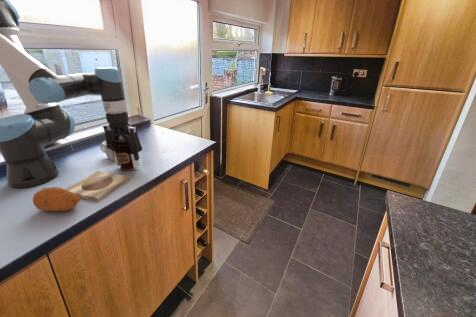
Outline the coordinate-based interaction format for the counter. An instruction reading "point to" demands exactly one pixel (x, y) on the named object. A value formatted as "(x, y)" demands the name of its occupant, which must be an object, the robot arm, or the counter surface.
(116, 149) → the coffee cup
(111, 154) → the cup
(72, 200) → the potato
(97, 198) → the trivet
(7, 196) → the counter surface
